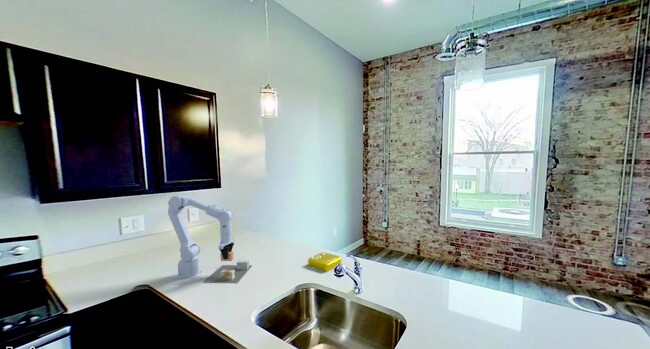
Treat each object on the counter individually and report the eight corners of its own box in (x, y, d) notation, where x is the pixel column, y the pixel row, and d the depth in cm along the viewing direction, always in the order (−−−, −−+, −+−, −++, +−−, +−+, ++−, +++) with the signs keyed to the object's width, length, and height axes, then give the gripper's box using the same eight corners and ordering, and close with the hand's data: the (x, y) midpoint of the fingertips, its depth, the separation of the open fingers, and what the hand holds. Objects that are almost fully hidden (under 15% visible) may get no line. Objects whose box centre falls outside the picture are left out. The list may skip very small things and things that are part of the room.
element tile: (327, 272, 140) (326, 264, 140) (306, 266, 150) (306, 258, 149) (342, 264, 152) (342, 256, 152) (322, 258, 161) (322, 250, 161)
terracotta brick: (220, 260, 138) (220, 253, 138) (223, 258, 141) (222, 251, 141) (231, 260, 137) (231, 253, 137) (233, 258, 140) (233, 251, 140)
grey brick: (236, 269, 145) (236, 262, 144) (239, 267, 148) (238, 260, 147) (247, 269, 144) (247, 262, 144) (249, 267, 147) (249, 260, 147)
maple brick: (220, 279, 132) (220, 272, 132) (223, 277, 135) (223, 269, 135) (232, 279, 131) (232, 272, 131) (234, 277, 134) (234, 269, 134)
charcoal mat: (202, 283, 129) (202, 282, 129) (222, 265, 151) (222, 265, 151) (237, 284, 128) (237, 283, 128) (252, 266, 150) (252, 265, 150)
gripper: (227, 237, 131) (228, 263, 132) (238, 229, 145) (239, 253, 146) (214, 237, 131) (215, 263, 132) (226, 229, 146) (227, 253, 146)
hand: (227, 257), depth 139 cm, fingers closed on terracotta brick, 3 cm apart
